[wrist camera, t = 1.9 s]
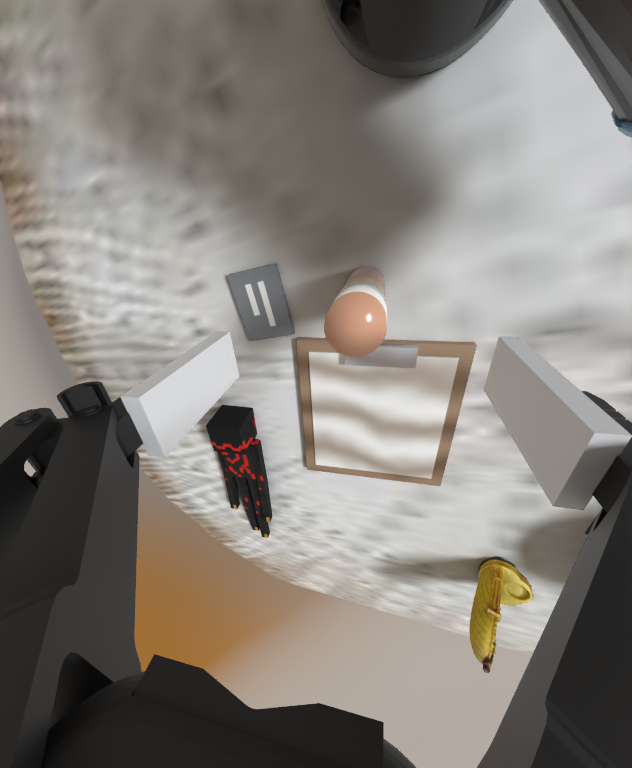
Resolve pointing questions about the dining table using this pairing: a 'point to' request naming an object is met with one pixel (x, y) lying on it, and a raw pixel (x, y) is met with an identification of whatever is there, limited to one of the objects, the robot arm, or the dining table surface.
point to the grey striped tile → (261, 302)
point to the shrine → (494, 604)
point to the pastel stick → (358, 314)
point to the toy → (242, 462)
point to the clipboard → (382, 407)
